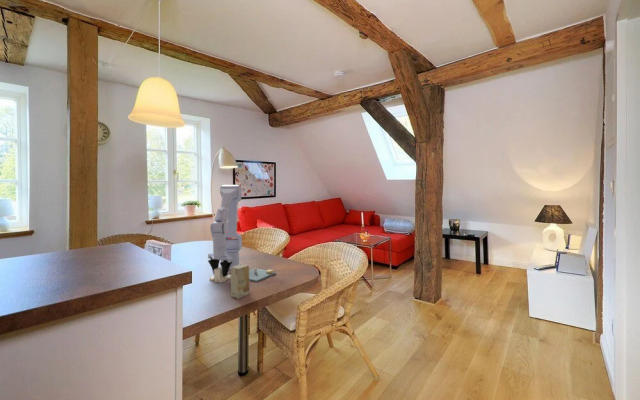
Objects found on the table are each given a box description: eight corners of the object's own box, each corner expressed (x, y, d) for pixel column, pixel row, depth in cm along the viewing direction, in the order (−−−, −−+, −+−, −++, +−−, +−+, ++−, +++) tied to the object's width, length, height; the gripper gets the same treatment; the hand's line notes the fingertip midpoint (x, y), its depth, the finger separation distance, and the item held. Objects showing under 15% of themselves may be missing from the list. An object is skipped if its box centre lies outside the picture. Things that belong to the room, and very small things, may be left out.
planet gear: (206, 280, 143) (206, 269, 142) (221, 274, 150) (221, 264, 150) (219, 283, 138) (219, 272, 138) (234, 277, 146) (233, 267, 145)
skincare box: (238, 299, 120) (237, 268, 119) (230, 297, 122) (229, 267, 121) (250, 293, 125) (249, 264, 124) (242, 291, 128) (241, 263, 127)
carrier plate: (234, 277, 146) (234, 269, 146) (254, 269, 158) (254, 262, 158) (256, 282, 139) (256, 274, 139) (275, 273, 151) (275, 266, 151)
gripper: (202, 246, 143) (203, 274, 144) (223, 250, 136) (224, 279, 137) (214, 243, 149) (215, 270, 150) (235, 247, 142) (236, 275, 143)
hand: (220, 274), depth 144 cm, fingers open, 6 cm apart
